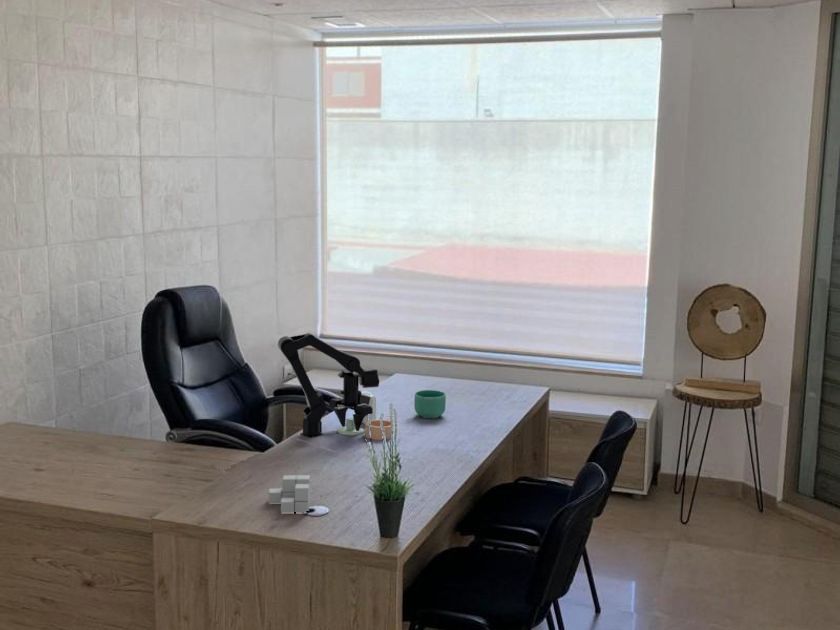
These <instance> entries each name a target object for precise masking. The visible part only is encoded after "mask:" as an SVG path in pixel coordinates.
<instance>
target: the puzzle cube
mask: <svg viewBox="0 0 840 630" xmlns="http://www.w3.org/2000/svg"><path fill="white" fill-rule="evenodd" d="M281 482H282V483H281V486H282V487H280V488H279V487H278V488H269V489H268V504H269V503H281V505H280V513H281V512H305V511H309V512H310V504H309V503H310V500H311V488H310V487H311V486H310V485H311V483H310V482H311V475H310V474H306V475H305V474H300V475H299V474H298V475H295V474H292V475H291V474H290V475H288V474H287V475H286V474H285V475H282V479H281Z"/></svg>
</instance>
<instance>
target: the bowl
mask: <svg viewBox="0 0 840 630" xmlns="http://www.w3.org/2000/svg"><path fill="white" fill-rule="evenodd" d="M381 420H382V422H383V427H384V429H385V435H386V438H387V440H390V439H389V438H390V431H391V422H390V421H391V420H389V419H381ZM396 425H397V424H396V423H395V429H397V428H396V427H397V426H396ZM364 431H365V433H364V436H365V437H366V438H367V439H370V435H369V421H367V422H366V423H365V424H364ZM370 431H371V438H372V439H371V440H379V441H383V440H382V436H383V434H382V430H381V427H380V419H376V420H371V427H370Z"/></svg>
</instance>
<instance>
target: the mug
mask: <svg viewBox="0 0 840 630" xmlns="http://www.w3.org/2000/svg"><path fill="white" fill-rule="evenodd" d="M446 398H447V397H446V393H445V391H440V390H436V389H435V390H432V389H423V390H418V391H415V393H414V400H413V402H414V405H413V406H414V411H415V412H416V414H417V415H418V416H420V417H421V418H424V419H429V420H430V419H432V420H433V419H437V418H439V417H440V416H442V415H443V414H444V413H445V411H446V403H447V402H446V401H447V399H446Z"/></svg>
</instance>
